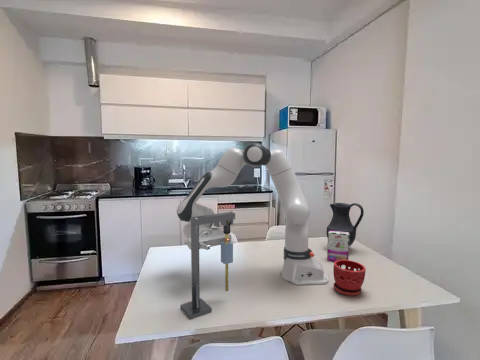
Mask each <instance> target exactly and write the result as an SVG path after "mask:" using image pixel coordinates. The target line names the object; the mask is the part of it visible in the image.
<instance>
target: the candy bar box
mask: <svg viewBox="0 0 480 360" xmlns="http://www.w3.org/2000/svg"><path fill="white" fill-rule="evenodd" d="M349 252H350V247H349V232H340V231H329V232H328V238H327V259H326V260H327V261H328V262H333V263H334V262H335V261H337V260H349V258H350V256H349V254H350V253H349Z"/></svg>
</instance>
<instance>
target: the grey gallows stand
mask: <svg viewBox="0 0 480 360" xmlns="http://www.w3.org/2000/svg"><path fill="white" fill-rule="evenodd" d="M234 220H236V213H235V212H233V211H227V212H220V213H214V214H212V215H204V216H197V217H191V249H190V253H191V254H190V255H191V256H190V261H191V263H190V264H191V270H190V271H191V272H190V273H191V301H188V302H184V303H181V304H180V307H179V308H180V310H181V311H182V312H183V314H185V315H186V317H187V318H188V319H189V320H193V319H195V318H200V317H201V316H204V315H207V314H210V313H212V312H213V308H212V307H211V306H210V305H209V304H208V303H207V302H206V301H205V300H203V298H201V296H200V295H201V292H200V291H201V290H200V281H201V280H200V279H201V278H200V249H199V225H202V224H208V223H213V224H212V226H215V228H220V225H221V226H223V227H222V229H223V230H222V231H223V233H224V234H225V238H224V242H225V244H228V242H229V241H230V238H228V234H231V225H234ZM224 265H225V266H224V268H225V270H224V271H225V272H224V273H225V278H224V279H225V281H224V282H225V290H224V291H225V292H229V264H224Z"/></svg>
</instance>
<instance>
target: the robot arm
mask: <svg viewBox="0 0 480 360" xmlns="http://www.w3.org/2000/svg"><path fill="white" fill-rule="evenodd" d="M246 165H248V166H251V167H256V168H257V167H259V166H264V167H265V168H266V169H267V171H268V173H269V176H270V178H271V180H272V183H273V184H274V187H275V189H276V192H277V194H278V195H277V196H278V197H279V201H280V203H281V206H282V209H283V212H284V214H285V229H284V231H285V232H284V247H283V264H282V270H281V272H280V277H281V278H282V279H284V280H285V281H288V282H290V283H292V285H293V284H294V285H296V286H302V285H303V286H304V285H305V286H307V285H309V286H310V285H327V284H328V283H329V276H328V274H327V273H326V272H325V271H324V268H323V265H322V264H321V262H320V261H319V260H317V259H316V258H315V253H314V252H313V251H312V249H311V248H309V222H310V221H309V219H310V217H309V216H310V214H311V213H310V205H309V202H308V200H307V199H306V197H305V195H304V192H303V190H302V188H301V186H300V183H299V179H298V177H297V175H296V173H295V170H294V168H293V166H292V163H291V162H290V160H289V157H288V156H287V154H286V153H285V152H284V151H283V150H282V149H279V148H274V149H272V150H270V149H268V148H267V147H265V146H264V145H263V144H262V143H260V142H250V143H249V144H247V145H246V146H245V147H244V149H241V148H240V149H239V148H238V147H229V148H228V149H227V150H226V151H225V152H224V153H223V155H222V156H221V158H220V159H219V161H218V163H217V164H216V166H215V167H214V168H213V169H212V170H211V171H209V172H206V173H204V174H203V175H202V176H201V178H200V179H199V180H198V182H196V184H195V185H194V187H193V188H192V189H191V191H190V192H189V193H188V195H187V196H186V197H184V199H182V201H181V202H180V203H179V204H178V206H177V209H176V214H177V218H179V220H180V221H182V222H186V223H185V224H184V225H183V228H182V231H183V235H184V236H185V238H186V239H185V240H184V241H183V243H184V244H185V245H187V247H188V249H190V250H191V217H197V216H204V215H212V214H215V213H214V210H213V208H210V207H208V206H205V205H202V204H200V203H197V202H198V201H199V199H200V198H201V197H202V196H203V194H204V193H205V191H207V190H208V189H210V188H227V187H229V186H232V184H233V183H234V182H235V180H236V179H237V177H238V176H239V174H240V173H241V170H242V169H243V167H244V166H246ZM212 226H213V223H208V224H202V225H199V250H201V249H203V250H206V251H208V250H210V249H211V247H215V246H221V242H224V238H225V234H224V233H223V230H222V229H221V228H220V227H212ZM211 227H212V228H211ZM228 238H230V241H229V242H231V243H232V234H231V233H229V234H228Z"/></svg>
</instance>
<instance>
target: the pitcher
mask: <svg viewBox="0 0 480 360" xmlns="http://www.w3.org/2000/svg"><path fill="white" fill-rule="evenodd" d="M353 206H356V207H358V208H359V210H360V215H359V217H358V218H357V221H356V222H355V224H354V225H353V223H352V221H351V218H350V211H351V208H352V207H353ZM329 207H330V208H331V211H332V213H333V215H332V216H331V220H330V222H329V224H328V225H327V226H326V238H327V239H328V232H329V231H340V232H349V248H350V247H351V246H352V245H353V244H354V242H355V240H356V236H357V229H358V226H359V224H360V223H361V221H362V220H363V218H364V217H363V216H364V207H363V206H362V205H361V204H359V203H355V202H354V203H345V202H334V203H331V204H329Z"/></svg>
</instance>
